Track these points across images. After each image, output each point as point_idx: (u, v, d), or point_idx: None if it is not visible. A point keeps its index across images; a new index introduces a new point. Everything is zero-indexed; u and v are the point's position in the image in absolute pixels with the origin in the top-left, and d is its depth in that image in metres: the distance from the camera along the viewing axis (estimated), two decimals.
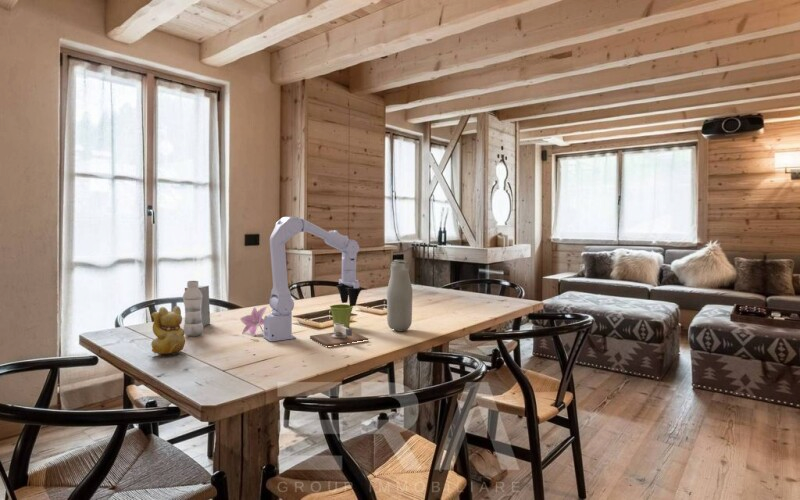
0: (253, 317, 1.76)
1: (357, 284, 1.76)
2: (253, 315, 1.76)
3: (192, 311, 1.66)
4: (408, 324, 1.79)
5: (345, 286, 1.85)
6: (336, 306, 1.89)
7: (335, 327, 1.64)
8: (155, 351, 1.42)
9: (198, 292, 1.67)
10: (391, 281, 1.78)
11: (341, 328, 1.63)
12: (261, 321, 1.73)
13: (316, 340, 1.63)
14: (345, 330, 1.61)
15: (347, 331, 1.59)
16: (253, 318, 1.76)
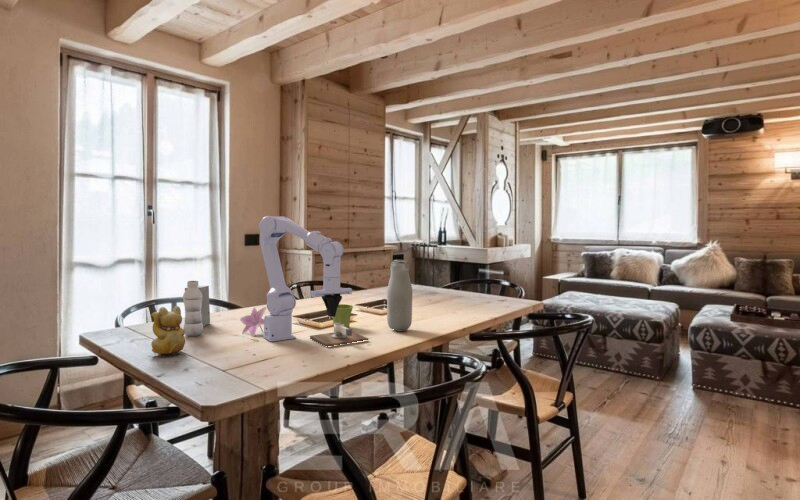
0: (253, 317, 1.76)
1: (312, 292, 1.54)
2: (253, 315, 1.76)
3: (192, 311, 1.66)
4: (408, 324, 1.79)
5: (333, 297, 1.59)
6: None
7: (335, 327, 1.64)
8: (155, 351, 1.42)
9: (198, 292, 1.67)
10: (391, 281, 1.78)
11: (341, 328, 1.63)
12: (261, 321, 1.73)
13: (316, 340, 1.63)
14: (345, 330, 1.61)
15: (347, 331, 1.59)
16: (253, 318, 1.76)
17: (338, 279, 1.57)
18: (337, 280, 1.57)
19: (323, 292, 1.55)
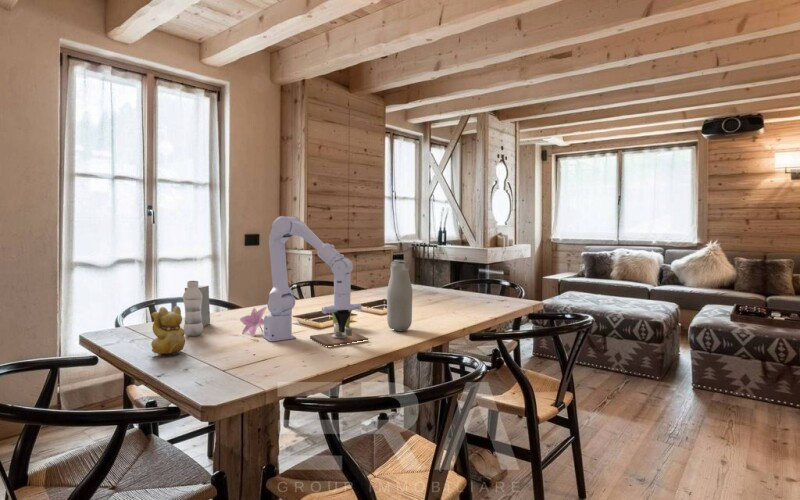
0: (253, 317, 1.75)
1: (323, 309, 1.57)
2: (253, 315, 1.76)
3: (193, 311, 1.66)
4: (408, 324, 1.79)
5: None
6: None
7: (335, 327, 1.64)
8: (155, 351, 1.42)
9: (198, 292, 1.67)
10: (391, 281, 1.78)
11: None
12: (261, 321, 1.73)
13: (316, 340, 1.63)
14: (345, 330, 1.61)
15: (347, 331, 1.59)
16: (253, 318, 1.75)
17: (348, 295, 1.60)
18: (347, 296, 1.59)
19: (334, 308, 1.58)
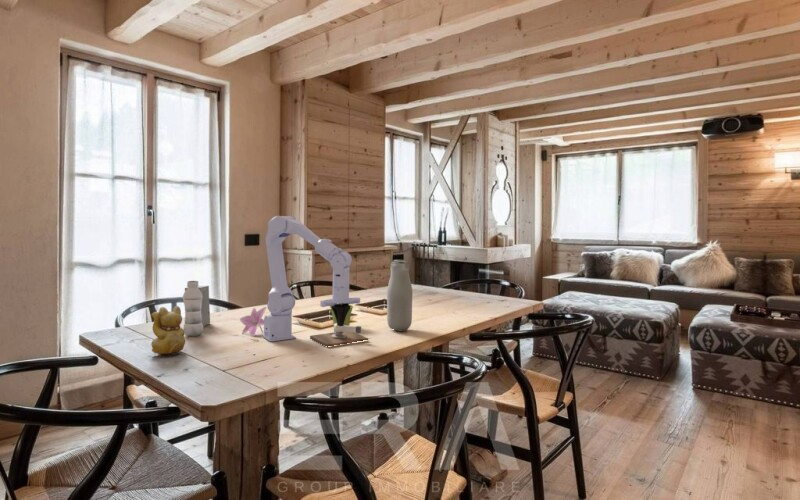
0: (253, 318, 1.75)
1: (321, 302, 1.57)
2: (253, 315, 1.76)
3: (192, 311, 1.66)
4: (408, 324, 1.79)
5: (341, 307, 1.61)
6: None
7: (338, 327, 1.64)
8: (155, 351, 1.42)
9: (198, 292, 1.67)
10: (391, 281, 1.78)
11: (346, 327, 1.65)
12: (261, 321, 1.72)
13: (316, 340, 1.63)
14: (353, 328, 1.64)
15: (358, 328, 1.64)
16: (253, 318, 1.75)
17: (347, 289, 1.59)
18: (346, 290, 1.59)
19: (332, 302, 1.57)
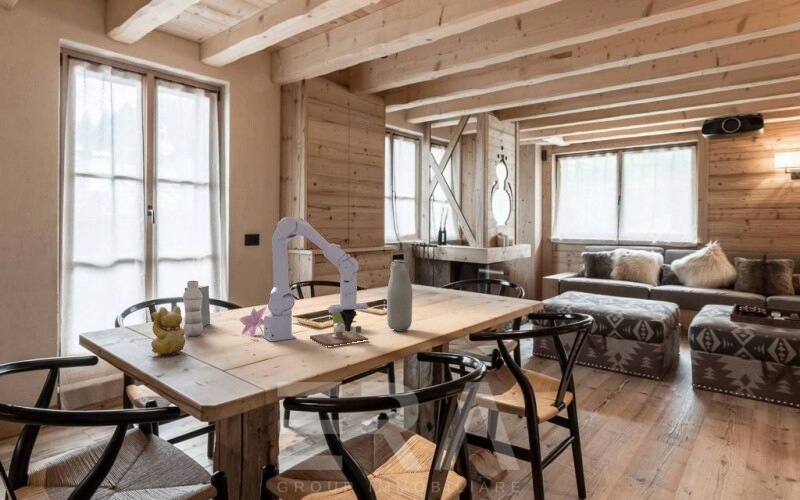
0: (253, 318, 1.75)
1: (329, 308, 1.59)
2: (252, 315, 1.75)
3: (193, 311, 1.66)
4: (408, 324, 1.79)
5: None
6: None
7: (338, 327, 1.64)
8: (155, 351, 1.42)
9: (198, 292, 1.67)
10: (391, 281, 1.78)
11: None
12: (261, 321, 1.72)
13: (316, 340, 1.63)
14: (354, 328, 1.64)
15: (358, 328, 1.64)
16: (252, 318, 1.75)
17: (354, 295, 1.61)
18: (354, 296, 1.61)
19: (340, 308, 1.59)
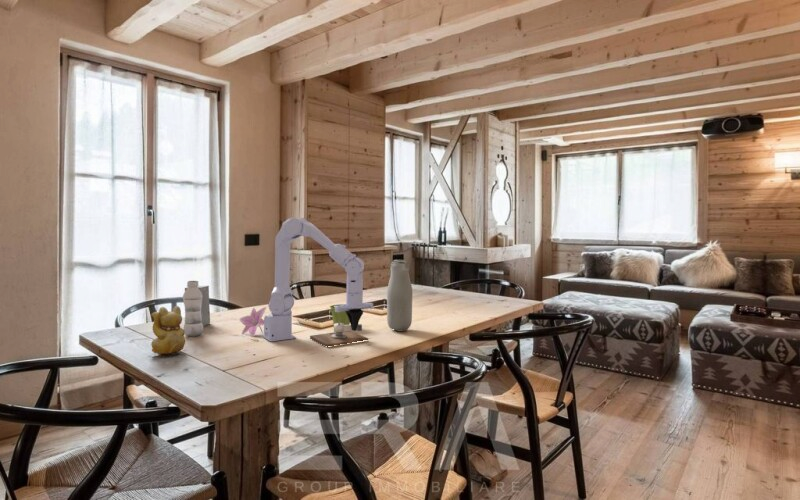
0: (253, 318, 1.75)
1: (336, 307, 1.60)
2: (252, 315, 1.75)
3: (192, 311, 1.66)
4: (408, 324, 1.79)
5: None
6: None
7: (340, 327, 1.64)
8: (155, 351, 1.42)
9: (198, 292, 1.67)
10: (391, 281, 1.78)
11: (347, 326, 1.66)
12: (261, 321, 1.72)
13: (316, 340, 1.63)
14: None
15: (359, 326, 1.67)
16: (252, 318, 1.75)
17: (361, 294, 1.63)
18: (360, 295, 1.62)
19: (346, 307, 1.61)
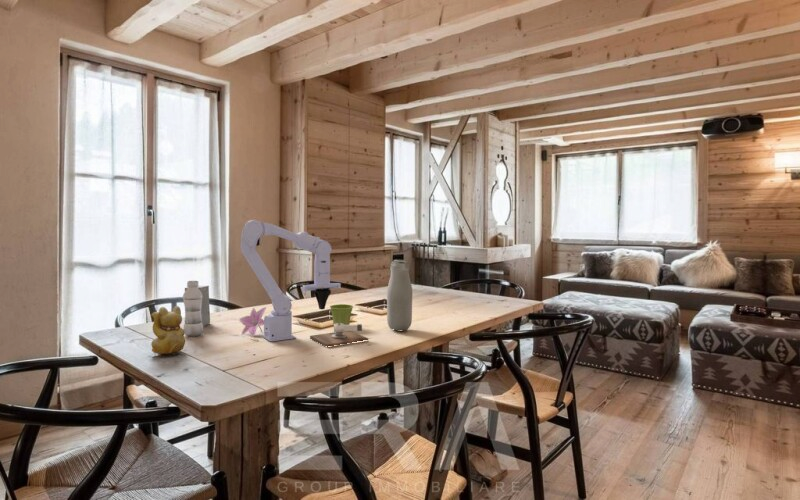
0: (252, 318, 1.75)
1: (303, 287, 1.68)
2: (252, 316, 1.75)
3: (192, 311, 1.66)
4: (408, 324, 1.79)
5: (322, 291, 1.72)
6: (336, 306, 1.89)
7: (340, 327, 1.64)
8: (155, 351, 1.42)
9: (198, 292, 1.67)
10: (391, 281, 1.78)
11: (347, 326, 1.66)
12: (261, 322, 1.72)
13: (316, 340, 1.63)
14: (355, 326, 1.66)
15: (359, 326, 1.67)
16: (252, 319, 1.75)
17: (328, 274, 1.70)
18: (327, 275, 1.70)
19: (314, 286, 1.68)
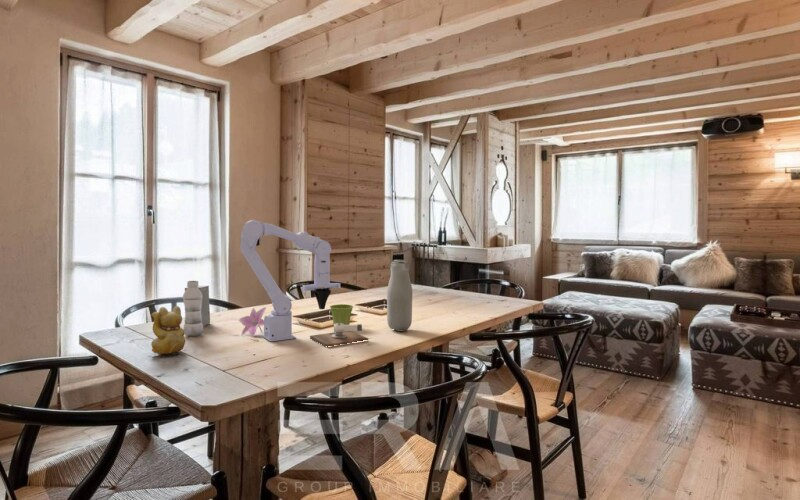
0: (252, 318, 1.75)
1: (303, 286, 1.68)
2: (252, 316, 1.75)
3: (192, 311, 1.66)
4: (408, 324, 1.79)
5: None
6: (336, 306, 1.89)
7: (340, 327, 1.64)
8: (155, 351, 1.42)
9: (198, 292, 1.67)
10: (391, 281, 1.78)
11: (347, 326, 1.66)
12: (261, 322, 1.72)
13: (316, 340, 1.63)
14: (355, 326, 1.66)
15: (359, 326, 1.67)
16: (252, 319, 1.75)
17: (328, 274, 1.70)
18: (327, 275, 1.70)
19: (314, 286, 1.68)
